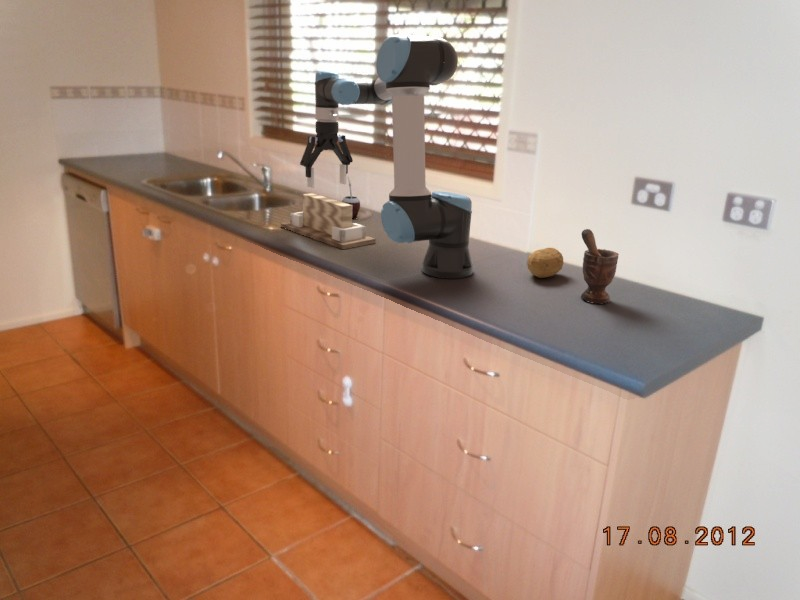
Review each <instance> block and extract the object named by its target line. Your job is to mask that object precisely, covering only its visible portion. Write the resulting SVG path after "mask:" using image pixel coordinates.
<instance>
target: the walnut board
mask: <svg viewBox="0 0 800 600" xmlns="http://www.w3.org/2000/svg"><path fill="white" fill-rule="evenodd" d="M281 227H284V228H286V229H285V230H287V229H288V230H287V231H289V230H291V231H290V232H292V231H293V232H292V233H295V232H296V233H295V234H298V233H299V234H298V235H301V236H303V235H304V237H306V236H307V237H306V238H309V237H310V239H312V238H313V240H315V239H316V240H315V241H318V240H319V241H318V242H320V241H321V243H323V242H324V243H323V244H326V243H327V244H326V245H329V244H330V245H329V246H332V245H333V246H332V247H334V246H335V248H337V247H338V249H340V248H341V250H347V248H348V249H352V247H354V248H358V246H359V247H362V246H368V245H374V244H376V243H377V240H376V239H377V238H374V237H371V236H369V235H368V236H367V235H366V237H365V238H362V239H357V240H351V241H346V242H340V241H337V240H334V239H332V235H330V234H327V233H324V232H322V231H319V230H316V229H313V228H311V227H308V226H305V225H303V227H297V226H294V225H291V224H290V221H289V222H281V223H280V228H281ZM284 228H283V229H284Z"/></svg>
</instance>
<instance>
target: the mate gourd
mask: <svg viewBox="0 0 800 600" xmlns="http://www.w3.org/2000/svg"><path fill="white" fill-rule="evenodd" d="M347 180H348V187H349V196H344V197H343V199H342V200H341V202H343V203H346V204H350V205H353V209H352V218H358V215H359V211H360V208H361V202H360V199H359V197H357V196H352V195H353V194H352V183H351V180H350V177H349V176H347Z"/></svg>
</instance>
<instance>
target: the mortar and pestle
mask: <svg viewBox="0 0 800 600" xmlns="http://www.w3.org/2000/svg"><path fill="white" fill-rule="evenodd" d="M581 239H582V240H583V243H584V244H585V246H586V248H587V249H586V250H585V251H584V253H583V259H582V260H583V262H582V275H583V281H585V283H586V284H587V286H588V287H587V288H586V289H585V290H584V291H583V292H582V293H581V295H580V298H581V299H582V300H583V299H584V300H586V301H589V302H593V303H605V304H608V303H610V301H611V297H610V294H609V293H608V292H607V291H606V288H607V286H609V285H610V284H611V283H612V282H613V279H614V277H615V275H616V272H617V267H618V265H617V264H618V262H619V261H618V259H619V253H618V252H616V251H613V250H609V249H605V248H603V249H602V248H598V247H597V243H596V238H595V234H594V233H593V231H592V230H591V229H589V228H586V229H585V228H584V229H583V230H582V231H581ZM584 300H583V301H584ZM586 301H585V302H586ZM589 302H588V303H589ZM607 302H608V303H607ZM593 303H592V304H593Z"/></svg>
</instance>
